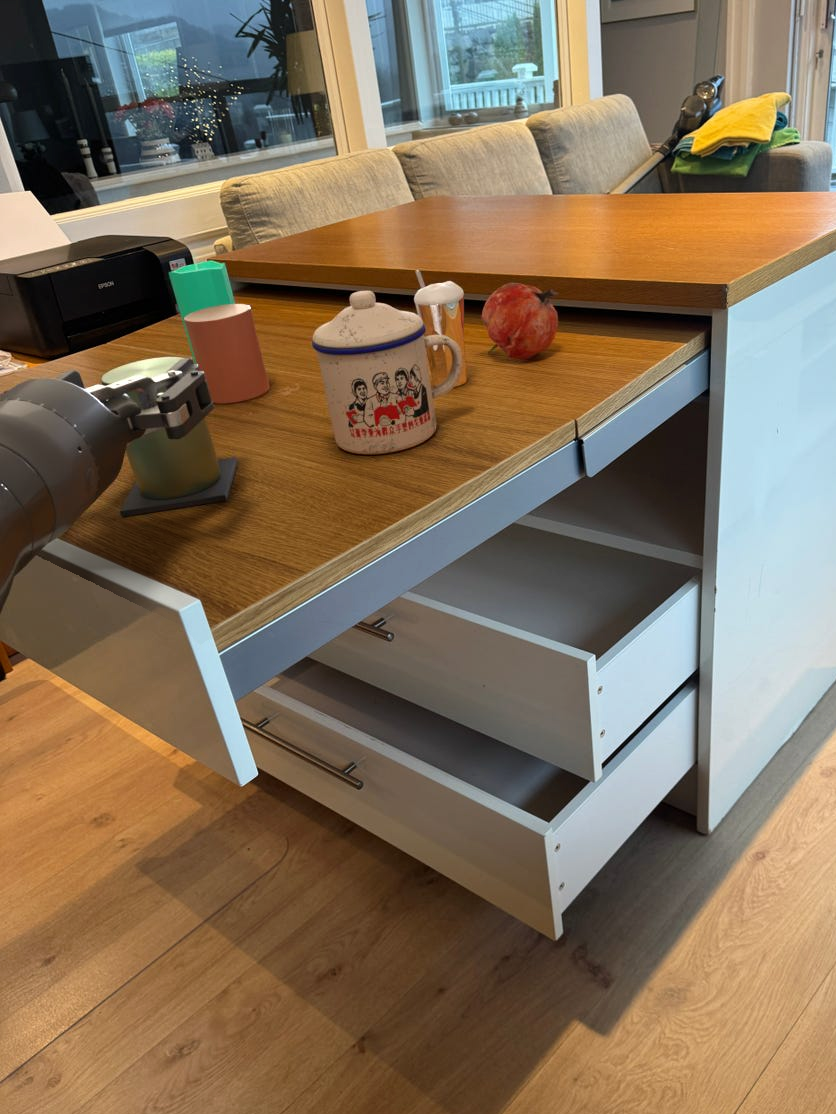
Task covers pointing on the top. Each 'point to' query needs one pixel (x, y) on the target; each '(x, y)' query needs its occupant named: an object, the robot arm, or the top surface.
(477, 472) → the top surface
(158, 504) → the mat
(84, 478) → the robot arm
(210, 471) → the upper tin
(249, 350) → the lower tin
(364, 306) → the teacup with lid
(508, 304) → the pomegranate
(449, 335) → the milkshake
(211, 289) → the candle
